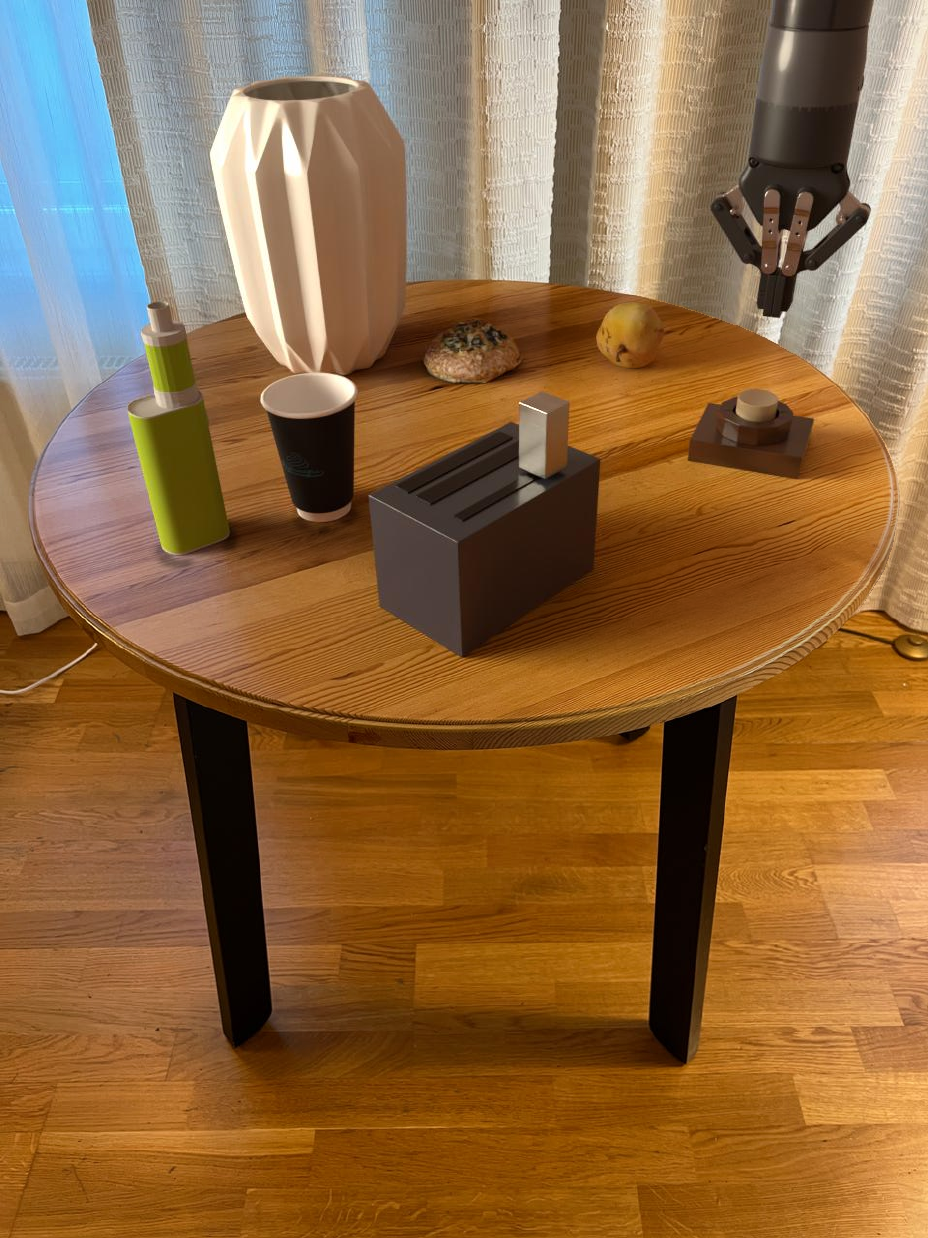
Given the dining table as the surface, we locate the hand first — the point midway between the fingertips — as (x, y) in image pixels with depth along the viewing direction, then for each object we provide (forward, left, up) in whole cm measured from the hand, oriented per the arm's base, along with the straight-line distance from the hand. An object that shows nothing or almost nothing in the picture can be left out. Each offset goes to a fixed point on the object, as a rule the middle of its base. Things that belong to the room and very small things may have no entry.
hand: (773, 313), depth 88 cm
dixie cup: (+33, +23, -13) cm, 42 cm away
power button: (0, 0, -10) cm, 10 cm away
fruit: (+16, -15, -13) cm, 26 cm away
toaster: (+15, +29, -13) cm, 35 cm away
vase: (+48, -6, -13) cm, 50 cm away
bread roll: (+32, -9, -13) cm, 36 cm away
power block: (0, 0, -13) cm, 13 cm away
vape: (+41, +31, -13) cm, 53 cm away
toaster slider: (+12, +27, -3) cm, 29 cm away
